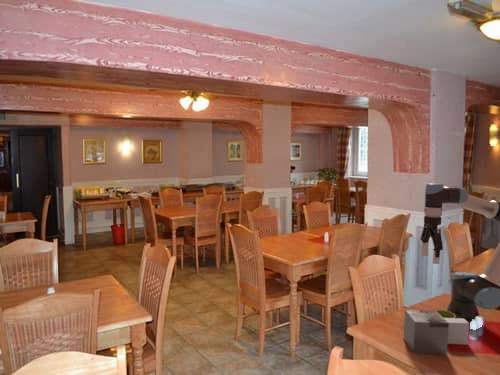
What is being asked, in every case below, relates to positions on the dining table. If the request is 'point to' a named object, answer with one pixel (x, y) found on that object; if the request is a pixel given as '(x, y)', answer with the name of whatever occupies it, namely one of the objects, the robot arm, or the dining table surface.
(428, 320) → the box
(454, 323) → the upright grey box
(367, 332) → the dining table surface
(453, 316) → the plant pot
